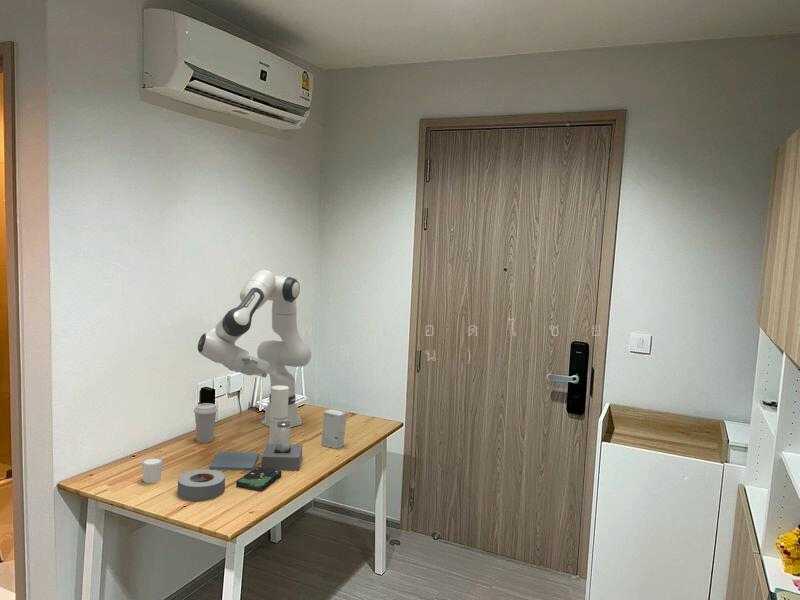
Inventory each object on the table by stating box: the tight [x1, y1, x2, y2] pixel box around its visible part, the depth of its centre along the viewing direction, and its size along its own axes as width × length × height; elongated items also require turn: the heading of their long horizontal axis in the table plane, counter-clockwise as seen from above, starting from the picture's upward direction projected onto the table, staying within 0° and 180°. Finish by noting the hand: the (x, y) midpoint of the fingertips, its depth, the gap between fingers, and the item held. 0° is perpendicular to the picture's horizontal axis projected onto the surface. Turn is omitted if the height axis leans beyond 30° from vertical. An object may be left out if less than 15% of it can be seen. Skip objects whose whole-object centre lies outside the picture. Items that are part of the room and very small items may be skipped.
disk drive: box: [235, 466, 282, 493], centre depth 214 cm, size 10×3×15 cm
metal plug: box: [276, 421, 291, 454], centre depth 231 cm, size 5×5×16 cm
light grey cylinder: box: [141, 457, 164, 484], centre depth 209 cm, size 7×7×7 cm
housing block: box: [260, 443, 303, 471], centre depth 232 cm, size 14×14×5 cm
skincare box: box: [320, 409, 348, 450], centre depth 254 cm, size 8×6×15 cm
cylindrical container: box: [268, 385, 289, 444], centre depth 249 cm, size 7×7×25 cm
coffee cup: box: [193, 402, 218, 444], centre depth 251 cm, size 10×10×15 cm
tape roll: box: [177, 468, 226, 502], centre depth 203 cm, size 15×15×5 cm
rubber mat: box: [208, 451, 260, 471], centre depth 231 cm, size 16×16×1 cm
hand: (270, 375), depth 233 cm, fingers open, 8 cm apart
